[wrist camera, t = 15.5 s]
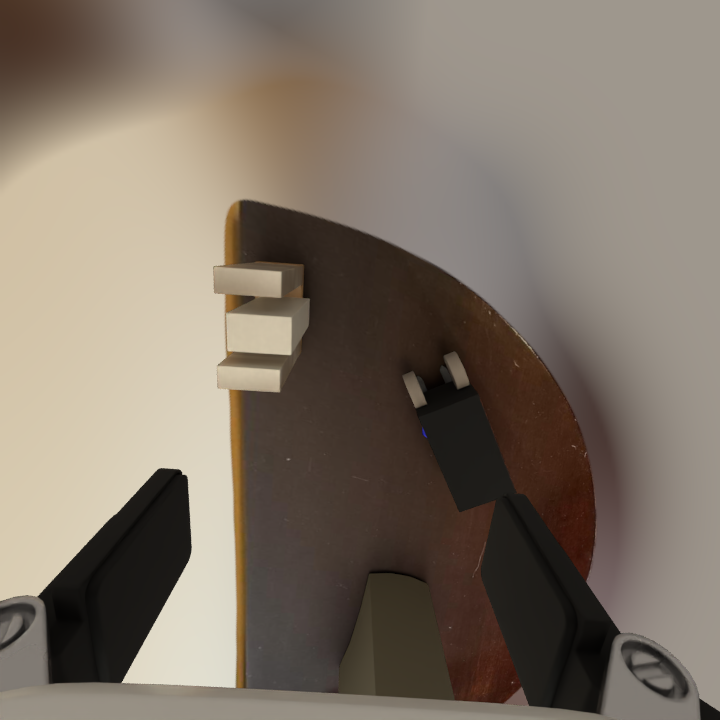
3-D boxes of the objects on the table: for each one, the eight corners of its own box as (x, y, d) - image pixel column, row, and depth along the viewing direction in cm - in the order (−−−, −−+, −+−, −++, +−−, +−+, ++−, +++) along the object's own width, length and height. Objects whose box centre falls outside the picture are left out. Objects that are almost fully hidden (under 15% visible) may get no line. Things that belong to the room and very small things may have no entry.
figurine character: (392, 367, 41) (444, 480, 43) (397, 384, 33) (460, 519, 36) (448, 342, 40) (498, 458, 42) (466, 354, 33) (525, 494, 35)
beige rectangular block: (263, 295, 36) (225, 312, 25) (309, 298, 36) (292, 317, 26) (262, 323, 37) (227, 351, 26) (308, 326, 37) (291, 355, 26)
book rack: (257, 260, 36) (212, 264, 25) (304, 264, 36) (281, 270, 25) (257, 349, 39) (217, 390, 27) (301, 352, 39) (279, 394, 27)
